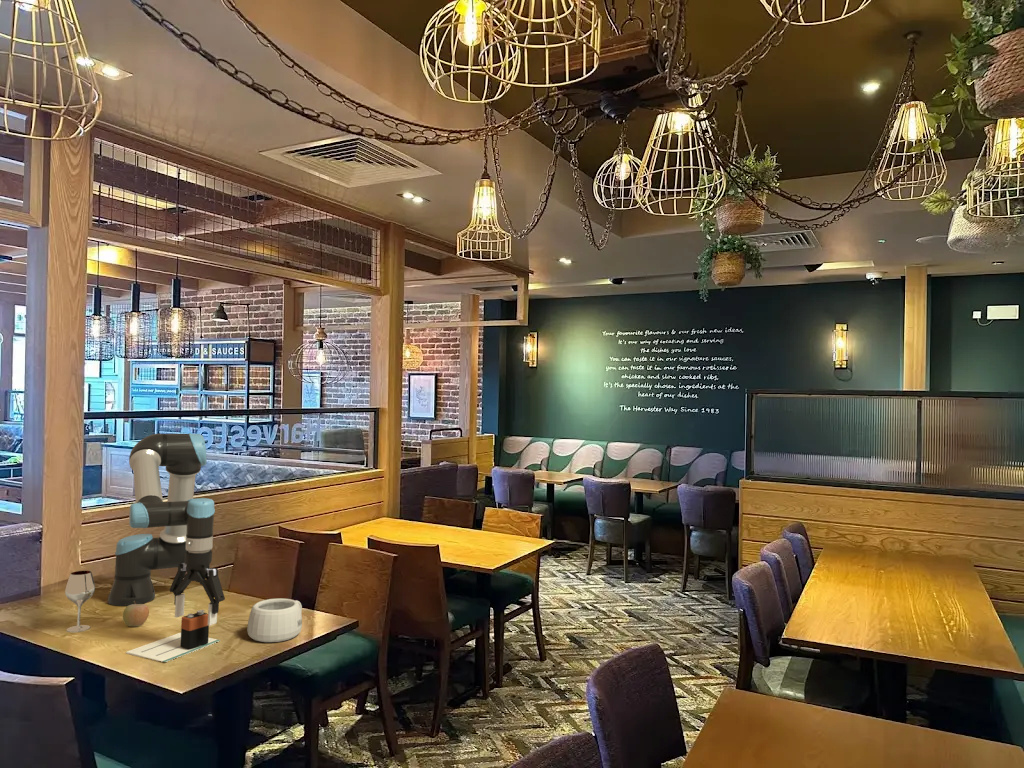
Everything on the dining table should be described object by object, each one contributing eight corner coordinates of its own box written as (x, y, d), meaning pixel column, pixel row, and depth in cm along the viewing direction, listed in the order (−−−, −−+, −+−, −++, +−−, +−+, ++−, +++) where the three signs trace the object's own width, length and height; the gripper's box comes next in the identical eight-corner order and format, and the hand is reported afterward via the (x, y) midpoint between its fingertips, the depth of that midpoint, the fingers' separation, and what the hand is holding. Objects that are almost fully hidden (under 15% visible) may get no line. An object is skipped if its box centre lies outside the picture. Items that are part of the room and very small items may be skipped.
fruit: (121, 630, 220) (122, 605, 220) (123, 623, 227) (124, 598, 227) (147, 627, 223) (149, 602, 224) (149, 620, 230) (150, 596, 230)
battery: (208, 643, 210) (210, 610, 210) (188, 650, 204) (190, 616, 204) (199, 640, 212) (201, 608, 212) (179, 647, 206) (181, 613, 206)
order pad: (182, 632, 220) (182, 631, 220) (220, 641, 213) (220, 640, 213) (125, 653, 201) (125, 651, 201) (164, 663, 195) (164, 661, 195)
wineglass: (78, 634, 215) (81, 576, 215) (56, 631, 217) (59, 574, 217) (99, 626, 223) (102, 570, 223) (77, 623, 225) (80, 568, 225)
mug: (278, 648, 210) (280, 615, 210) (235, 639, 216) (236, 607, 216) (321, 627, 230) (322, 597, 230) (280, 619, 236) (281, 590, 236)
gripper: (158, 547, 210) (155, 616, 210) (219, 558, 200) (216, 631, 200) (179, 542, 217) (176, 609, 217) (239, 553, 207) (236, 623, 207)
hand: (195, 620), depth 209 cm, fingers open, 13 cm apart
